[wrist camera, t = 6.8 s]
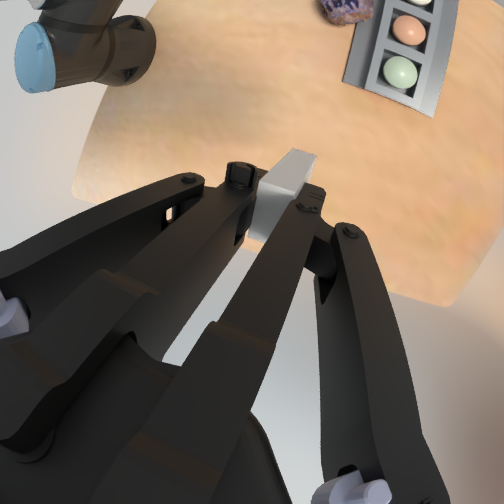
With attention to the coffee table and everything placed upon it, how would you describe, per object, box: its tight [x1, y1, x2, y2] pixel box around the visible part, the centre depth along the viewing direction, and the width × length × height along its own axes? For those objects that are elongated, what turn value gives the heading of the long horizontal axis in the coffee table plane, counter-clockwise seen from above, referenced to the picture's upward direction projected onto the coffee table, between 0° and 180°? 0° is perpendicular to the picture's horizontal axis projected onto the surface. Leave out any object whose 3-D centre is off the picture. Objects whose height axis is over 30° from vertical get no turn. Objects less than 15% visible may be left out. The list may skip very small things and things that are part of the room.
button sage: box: [383, 56, 417, 89], centre depth 27 cm, size 4×4×2 cm
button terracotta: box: [392, 15, 426, 47], centre depth 23 cm, size 4×4×2 cm
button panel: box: [343, 0, 459, 118], centre depth 24 cm, size 14×22×4 cm, turn 169°
